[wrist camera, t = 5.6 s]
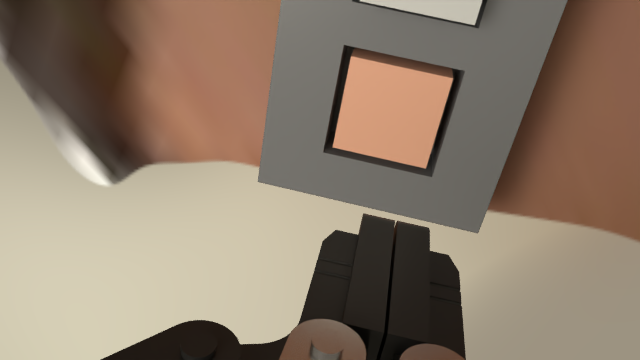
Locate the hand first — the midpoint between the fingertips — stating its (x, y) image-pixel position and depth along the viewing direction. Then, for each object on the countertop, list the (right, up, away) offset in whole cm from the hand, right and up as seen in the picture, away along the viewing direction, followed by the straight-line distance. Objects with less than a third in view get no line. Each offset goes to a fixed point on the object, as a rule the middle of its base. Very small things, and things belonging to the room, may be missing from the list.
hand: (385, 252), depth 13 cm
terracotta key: (+2, +6, +14) cm, 15 cm away
